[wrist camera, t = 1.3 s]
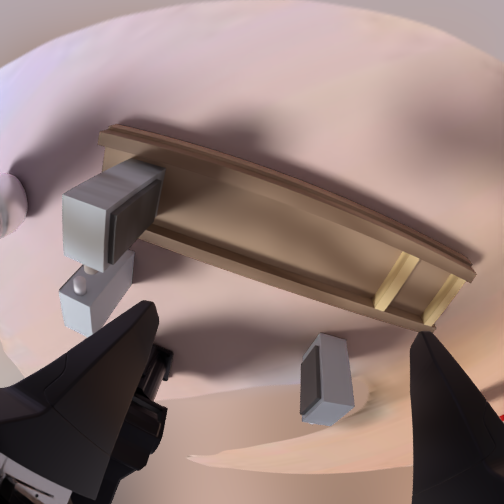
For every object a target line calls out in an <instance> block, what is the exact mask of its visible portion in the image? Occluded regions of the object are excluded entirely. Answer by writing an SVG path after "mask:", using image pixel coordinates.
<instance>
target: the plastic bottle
mask: <svg viewBox="0 0 504 504" xmlns="http://www.w3.org/2000/svg"><path fill="white" fill-rule="evenodd" d="M27 209H28V203H27V197H26V193H25V190H24V188H23V186H22V184H21V183H20V181H19V180H18V179H17V178H16V177H15V176H13V175H11V174H8V173H2V174H0V239H1V238H3V237H5V236H7V235H9V234H11V233H13V232H14V231H16V229H17V228H18V227H19V226H20V225H21V224H22V223H23V222H24V219H25V217H26V214H27Z"/></svg>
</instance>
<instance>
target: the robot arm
mask: <svg viewBox="0 0 504 504" xmlns="http://www.w3.org/2000/svg"><path fill="white" fill-rule="evenodd" d="M158 325H159V316H158V313H157V310H156V306H155V304H154V303H153V302H151V301H146V300H143V301H141V302H139V303H138V304H136V305H135V306H133V307H132V308H130V309H129V310H127V311H126V312H124V313H123V314H121V315H120V316H118V317H117V318H115V319H114V320H113V321H111V322H110V323H108V324H107V325H105V326H104V327H102V328H101V329H99V330H98V331H96V332H95V333H94V334H92V335H91V336H89V337H88V338H86V339H85V340H83V341H82V342H81V343H79V344H78V345H76V346H75V347H73V348H72V349H71V350H69V351H68V352H67V353H65V354H63V355H62V356H60V357H59V358H57V359H56V360H54V361H53V362H52V363H50V364H49V365H47V366H45V367H44V368H42V369H40V370H39V371H37V372H35V373H33V374H32V375H30V376H28V377H26V378H25V379H23V380H21V381H20V382H18V383H16V384H14V385H12V386H10V387H5V388H0V504H111V503H112V500H113V497H114V495H115V492H116V490H117V487H118V484H119V482H120V480H121V479H123V478H124V477H126V476H128V475H129V474H131V473H133V472H134V471H136V470H137V471H139V470H141V469H142V468H143V467H144V466H146V464H147V461H148V458H149V455H150V454H153V453H154V452H155V450H156V449H157V447H158V445H159V444H160V441H161V439H162V435H163V430H164V425H165V420H166V415H167V408H166V407H164V406H161V405H159V404H157V403H155V402H154V399H155V397H156V394H157V391H158V389H159V386H160V384H161V381H162V380H163V381H167V380H168V378H169V373H170V368H171V363H172V358H173V353H172V352H171V351H169V350H166V349H164V348H161V347H159V346H156V345H154V344H153V342H154V338H155V335H156V332H157V329H158ZM410 396H411V408H412V425H413V493H412V494H413V496H412V504H504V423H503V421H502V420H501V419H500V418H499V416H498V415H497V414H496V412H495V411H494V410H493V408H492V407H491V406H490V404H489V403H488V402H486V399H485V397H484V396H483V395H482V393H481V392H480V391H479V389H478V388H477V387H476V386H475V384H474V383H473V382H472V380H471V379H470V378H469V376H468V375H467V374H466V373H465V371H464V370H463V369H462V368H461V366H460V365H459V364H458V363H457V361H456V360H455V359H454V358H453V357H452V355H451V354H450V353H449V352H448V351H447V349H446V348H445V347H444V346H443V345H442V343H441V342H440V341H439V340H438V339H437V337H436V336H435V335H434V334H433V333H432V332H431V331H420V332H419V333H418V335H417V337H416V338H415V340H414V342H413V344H412V345H411V348H410Z"/></svg>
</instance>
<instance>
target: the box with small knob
mask: <svg viewBox="0 0 504 504" xmlns="http://www.w3.org/2000/svg"><path fill="white" fill-rule="evenodd" d="M134 255H135V252H134V251H131V250H129V249H128V250H127V251H126V252H125V253H124V254H123V255H122V256H121V257H120V258H119V260H118V261H117V262H116V263H115V264H114V265H112V264H111V265H110V266H109V267H108V268H107V269H106V271H105V272H104V273H102V272H100V271H98V273H96V274H93V275H90V274H87V273H86V272H85V271H84V264H83V265H82V266H81V267H80V268H79V269H78V270H77V271H76V272H75V273H74V274H73V275H72V276H71V277H70V278H69V280H68V281H67V282H66V283H65V284H64V285H63V286H62V287H61V288H60V289H59V296H60V302H61V308H62V314H63V319H64V324H65V326H66V327H68V328H70V329H72V330H74V331H76V332H78V333H80V334H82V335H84V336H86V337H89V336H91V335H92V334H94V333H95V332H96V331H98V330H99V329H101V328H102V326H103V325H104V323H105V322H106V320H107V319H108V318H109V316H110V315H111V313H112V312H113V310H114V309H115V307H116V306H117V304H118V303H119V302H120V300H121V299H122V297H123V296H124V295H125V293H126V292H127V290H128V289H129V288H130V286H131V285H132V276H133V265H134Z"/></svg>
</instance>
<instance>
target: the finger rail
mask: <svg viewBox="0 0 504 504" xmlns="http://www.w3.org/2000/svg"><path fill="white" fill-rule="evenodd" d="M97 145H101V146H105V152H104V160H103V168H102V173H100V174H98V175H96V176H94V177H92V178H90V179H89V180H87V181H85V182H83V183H81V184H80V185H78V186H76V187H74V188H73V189H71V190H69V191H67V192H66V193H64V194H63V195H62V224H63V249H64V256H66V257H69V258H71V259H73V260H75V261H77V262H79V263H82V264H84V271H85V272H86V273H87V274H90V275H93V274H96V273H98V271H100V272H102V273H104V272H105V271H106V269H107V268H108V267H109V266H110V265H111V264H112V265H114V264H115V263H116V262H117V261H118V260H119V258H120V257H121V256H122V255H123V254H124V253H125V252H126V251H127V250H128V248H129V247H130V246H131V245H132V244H133V243H134V242H135V241H136V240H137V239H140V240H143V241H146V242H149V243H151V244H154V245H157V246H159V247H162V248H165V249H168V250H170V251H173V252H176V253H179V254H182V255H184V256H187V257H190V258H193V259H196V260H198V261H201V262H204V263H207V264H210V265H213V266H215V267H218V268H221V269H224V270H227V271H230V272H233V273H236V274H238V275H241V276H244V277H247V278H250V279H253V280H256V281H259V282H262V283H265V284H268V285H271V286H274V287H277V288H280V289H283V290H286V291H289V292H292V293H295V294H298V295H301V296H304V297H307V298H310V299H313V300H316V301H319V302H322V303H326V304H329V305H332V306H335V307H338V308H341V309H344V310H348V311H351V312H354V313H357V314H360V315H364V316H367V317H370V318H373V319H376V320H380V321H383V322H386V323H390V324H393V325H396V326H399V327H403V328H406V329H410V330H413V331H416V332H420V331H431V332H432V333H433V332H434V330H435V329H436V326H435V324H434V323H435V321H436V320H437V319H438V318H439V316H440V315H441V314H442V313H443V311H444V310H445V309H446V308H447V306H448V305H449V304H450V302H451V301H452V300H453V298H454V297H455V296H456V294H457V293H458V291H459V290H460V289H461V287H462V286H463V284H464V283H465V281H467V282H469V283H471V282H472V281H473V279H474V278H475V276H476V275H477V274H476V272H475V271H474V270H473V269H472V267H471V266H472V263H471V262H470V261H469V260H468V258H467V257H465V256H463V255H461V254H460V253H458V252H456V251H454V250H452V249H450V248H448V247H447V246H445V245H443V244H441V243H439V242H437V241H435V240H433V239H431V238H429V237H427V236H426V235H424V234H422V233H420V232H418V231H416V230H414V229H412V228H409V227H407V226H405V225H403V224H401V223H399V222H397V221H395V220H393V219H391V218H389V217H386V216H384V215H382V214H380V213H378V212H376V211H373V210H371V209H369V208H367V207H364V206H362V205H360V204H358V203H355V202H353V201H351V200H348V199H346V198H344V197H341V196H339V195H336V194H334V193H332V192H329V191H327V190H324V189H322V188H319V187H317V186H314V185H312V184H309V183H307V182H304V181H302V180H299V179H296V178H294V177H291V176H288V175H286V174H283V173H280V172H277V171H275V170H272V169H269V168H266V167H263V166H261V165H258V164H255V163H252V162H249V161H246V160H243V159H240V158H237V157H234V156H231V155H228V154H225V153H222V152H218V151H215V150H212V149H209V148H205V147H202V146H199V145H195V144H192V143H189V142H185V141H182V140H178V139H174V138H171V137H167V136H163V135H160V134H156V133H152V132H148V131H144V130H140V129H136V128H132V127H127V126H123V125H119V124H115V125H111V126H109V128H108V129H107V130H104V131H100V132H99V138H98V144H97Z"/></svg>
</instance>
